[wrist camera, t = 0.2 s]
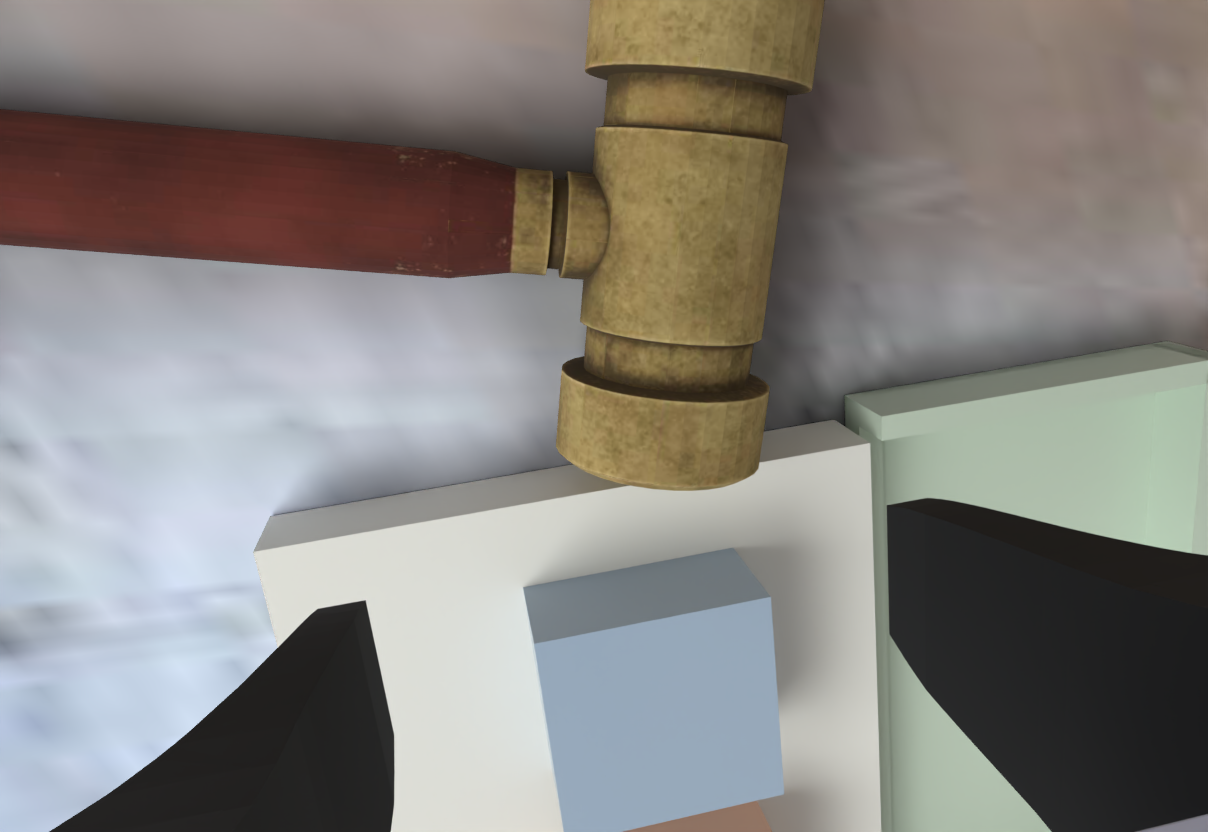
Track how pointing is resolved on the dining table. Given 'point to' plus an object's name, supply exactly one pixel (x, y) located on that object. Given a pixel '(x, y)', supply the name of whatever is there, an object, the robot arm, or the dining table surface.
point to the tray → (1032, 490)
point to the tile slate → (657, 691)
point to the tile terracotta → (716, 821)
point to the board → (578, 548)
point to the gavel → (507, 220)
